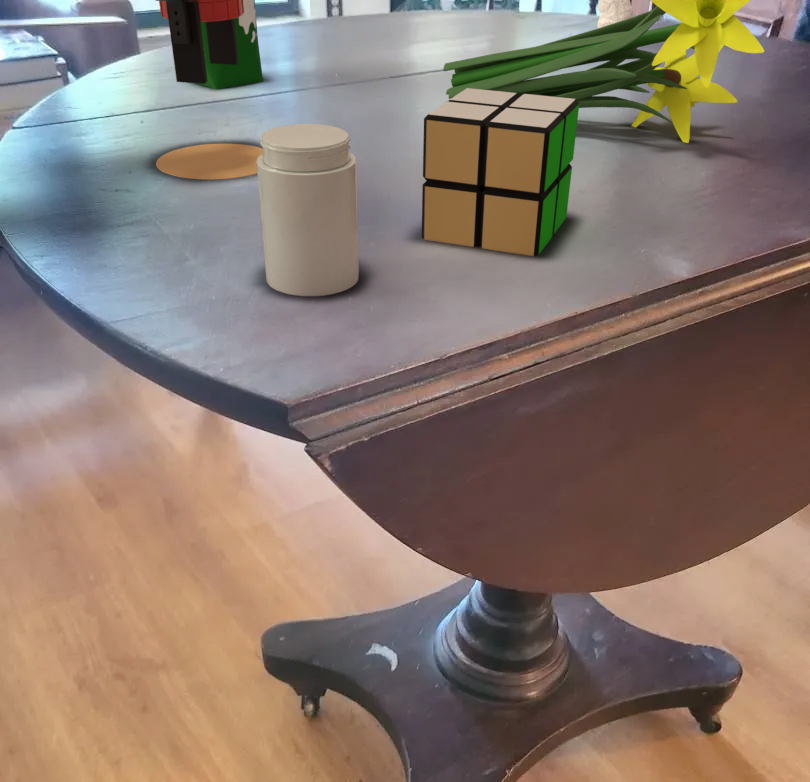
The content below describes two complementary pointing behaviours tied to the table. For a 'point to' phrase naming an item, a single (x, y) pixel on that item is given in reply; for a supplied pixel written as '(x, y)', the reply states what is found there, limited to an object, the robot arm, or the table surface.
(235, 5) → the lid
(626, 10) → the koala figurine
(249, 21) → the milk carton
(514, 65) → the daffodil flowers
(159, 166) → the coaster
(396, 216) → the table surface
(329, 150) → the jar
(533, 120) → the puzzle cube
